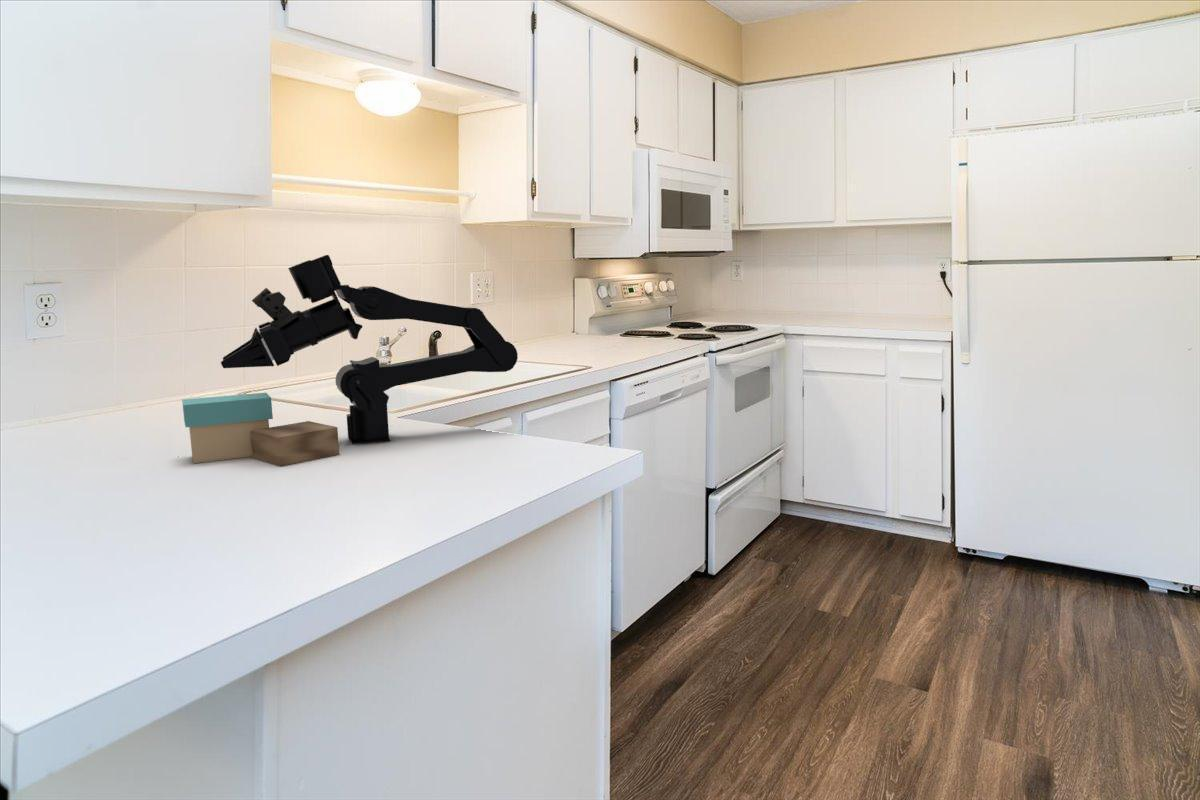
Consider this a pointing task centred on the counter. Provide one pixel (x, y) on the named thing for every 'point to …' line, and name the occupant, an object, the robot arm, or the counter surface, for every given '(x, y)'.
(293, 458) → the walnut block
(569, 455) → the counter surface
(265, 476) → the counter surface
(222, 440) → the box
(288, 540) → the counter surface
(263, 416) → the lid
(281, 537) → the counter surface
